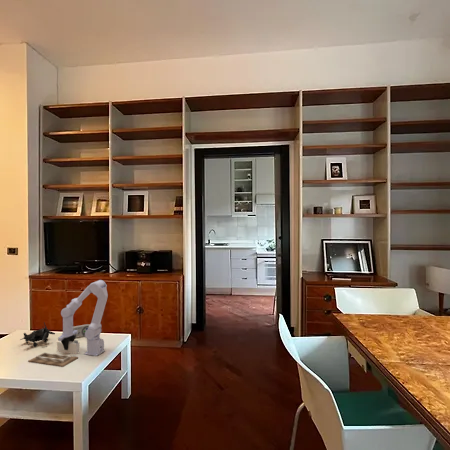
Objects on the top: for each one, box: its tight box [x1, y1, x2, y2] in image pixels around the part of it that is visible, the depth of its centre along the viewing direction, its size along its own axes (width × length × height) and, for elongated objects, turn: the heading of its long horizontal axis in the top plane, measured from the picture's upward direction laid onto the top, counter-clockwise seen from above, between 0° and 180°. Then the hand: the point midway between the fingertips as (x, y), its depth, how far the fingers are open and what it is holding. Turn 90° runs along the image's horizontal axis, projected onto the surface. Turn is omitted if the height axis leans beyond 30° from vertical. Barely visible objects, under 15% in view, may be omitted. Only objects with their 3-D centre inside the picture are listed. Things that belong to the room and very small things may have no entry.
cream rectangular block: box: [56, 340, 80, 355], centre depth 210 cm, size 14×3×8 cm, turn 74°
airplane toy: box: [19, 322, 56, 348], centre depth 223 cm, size 20×19×15 cm
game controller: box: [73, 323, 90, 338], centre depth 235 cm, size 20×2×8 cm, turn 123°
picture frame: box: [27, 352, 79, 368], centre depth 197 cm, size 24×12×2 cm, turn 73°
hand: (68, 348), depth 210 cm, fingers closed on cream rectangular block, 3 cm apart
